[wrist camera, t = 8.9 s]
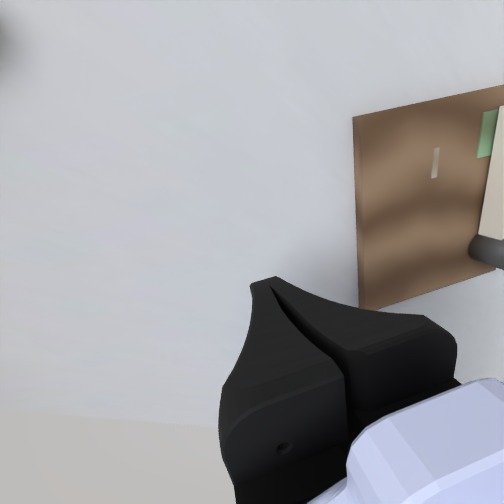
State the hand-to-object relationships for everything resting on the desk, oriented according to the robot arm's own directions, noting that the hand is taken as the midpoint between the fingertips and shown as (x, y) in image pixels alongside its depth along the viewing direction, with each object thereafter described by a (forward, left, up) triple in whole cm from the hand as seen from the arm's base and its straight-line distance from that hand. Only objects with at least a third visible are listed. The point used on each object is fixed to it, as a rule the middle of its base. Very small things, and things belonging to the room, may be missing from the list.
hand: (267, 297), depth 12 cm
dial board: (-2, -19, -9) cm, 21 cm away
